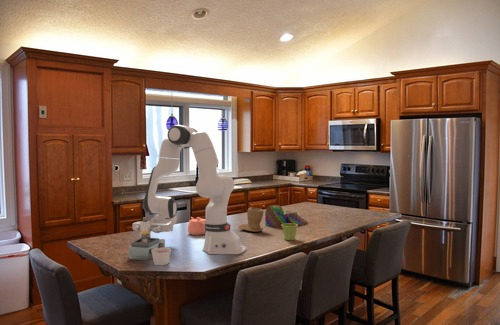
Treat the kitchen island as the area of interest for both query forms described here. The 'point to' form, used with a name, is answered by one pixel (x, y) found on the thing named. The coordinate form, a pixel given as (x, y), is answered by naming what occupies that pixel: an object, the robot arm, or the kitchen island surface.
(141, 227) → the frosted glass bottle
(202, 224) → the teapot
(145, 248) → the green tray box
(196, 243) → the kitchen island surface
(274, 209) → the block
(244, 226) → the brown hat
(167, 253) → the candle
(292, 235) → the plant pot
